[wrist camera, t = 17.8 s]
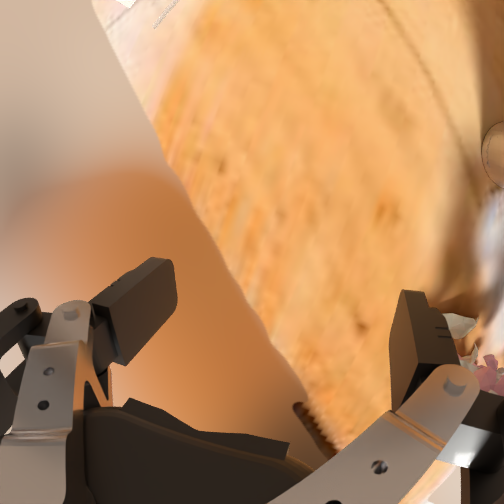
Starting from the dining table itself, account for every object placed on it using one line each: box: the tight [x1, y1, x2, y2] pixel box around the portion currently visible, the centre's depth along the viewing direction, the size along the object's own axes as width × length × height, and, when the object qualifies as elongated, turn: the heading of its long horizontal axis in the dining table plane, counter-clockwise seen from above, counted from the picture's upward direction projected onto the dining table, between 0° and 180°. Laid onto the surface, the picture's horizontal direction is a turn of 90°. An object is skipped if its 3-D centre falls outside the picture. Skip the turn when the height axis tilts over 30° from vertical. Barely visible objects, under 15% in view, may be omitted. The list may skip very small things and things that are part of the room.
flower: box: [443, 313, 504, 396], centre depth 36 cm, size 20×22×24 cm
